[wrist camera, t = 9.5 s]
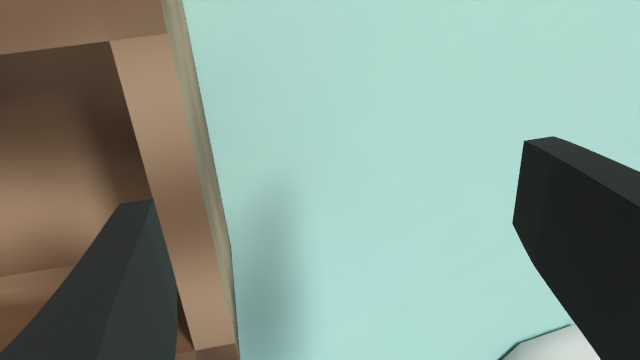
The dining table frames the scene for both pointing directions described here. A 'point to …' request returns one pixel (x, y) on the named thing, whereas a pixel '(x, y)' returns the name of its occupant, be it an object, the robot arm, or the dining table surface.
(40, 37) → the cabinet
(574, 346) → the flask
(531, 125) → the dining table surface
